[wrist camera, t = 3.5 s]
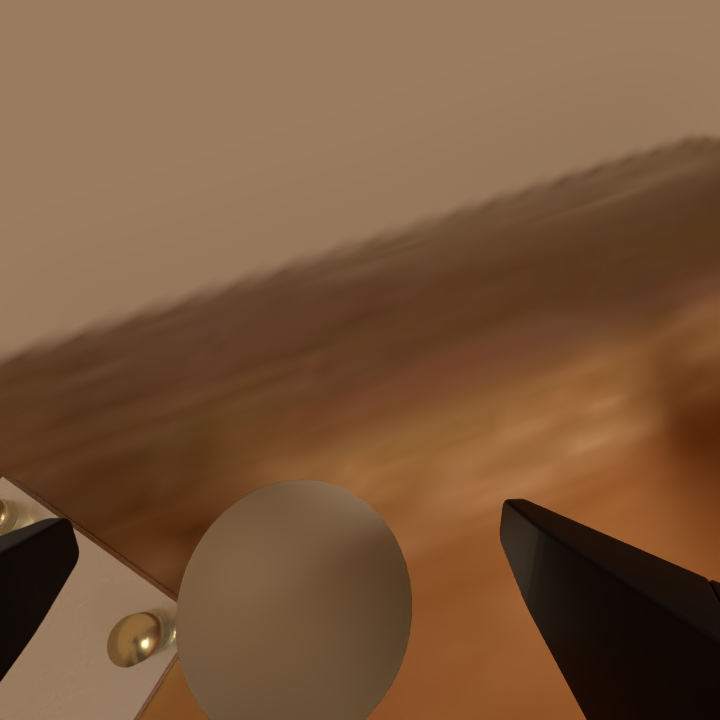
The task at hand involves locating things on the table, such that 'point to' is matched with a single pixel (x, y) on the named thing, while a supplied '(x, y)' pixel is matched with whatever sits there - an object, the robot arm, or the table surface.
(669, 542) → the table surface
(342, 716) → the maple peg
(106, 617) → the base plate
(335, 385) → the table surface
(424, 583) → the table surface
